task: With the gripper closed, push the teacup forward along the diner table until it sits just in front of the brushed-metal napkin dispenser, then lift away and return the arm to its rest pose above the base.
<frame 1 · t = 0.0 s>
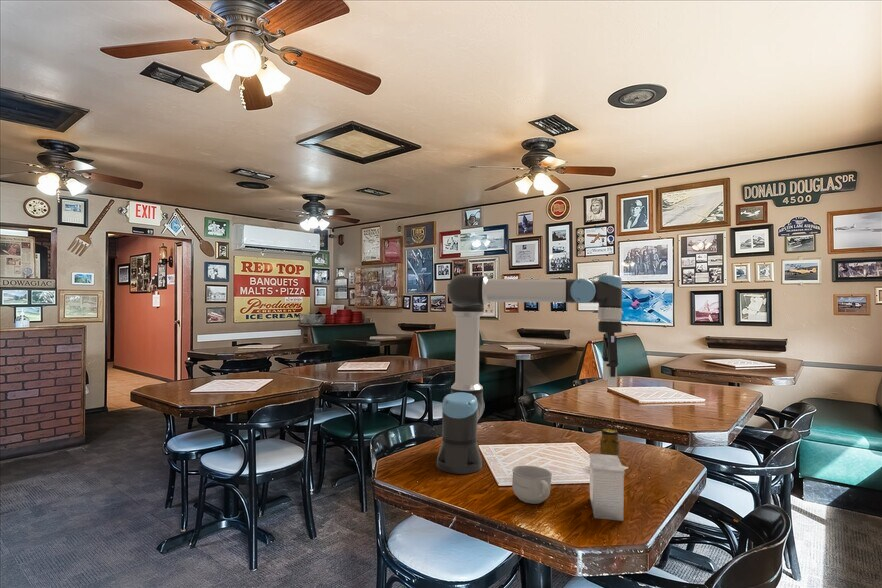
hand: (609, 383, 157), 28 cm above the table, fingers open, 13 cm apart
condiment: (611, 467, 156), on the table
napkin dispenser: (605, 509, 123), on the table
teacup: (533, 502, 127), on the table
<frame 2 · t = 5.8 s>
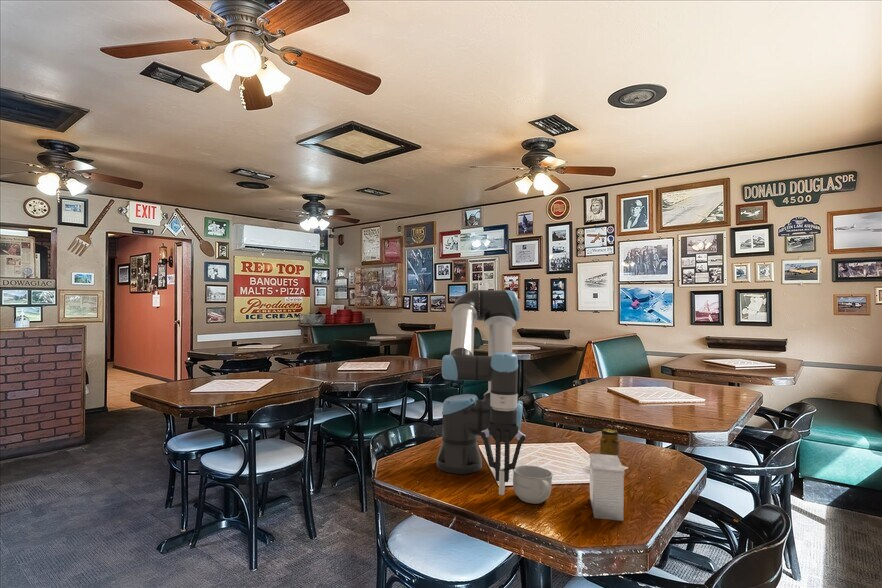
hand: (501, 492, 129), 2 cm above the table, fingers closed
teacup: (534, 502, 127), on the table, touching gripper
everything else where it was.
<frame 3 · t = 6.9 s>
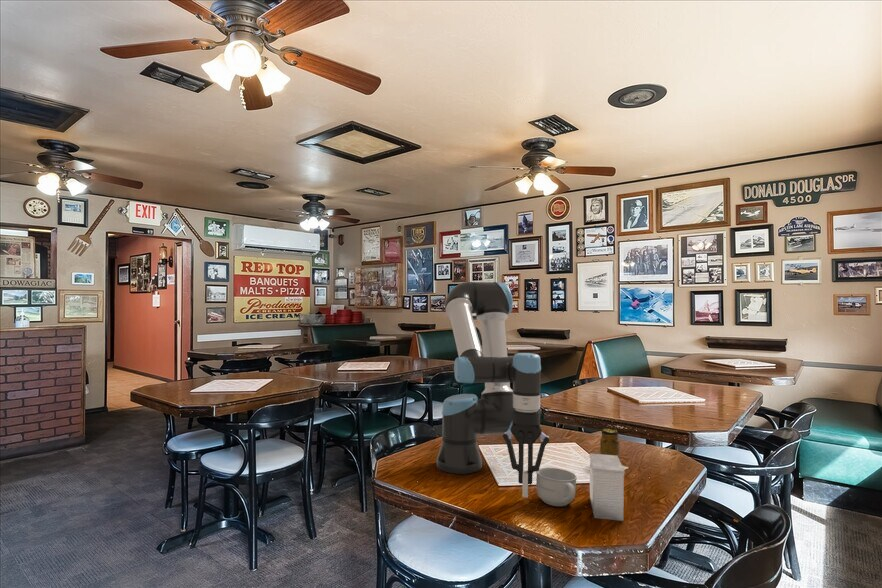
hand: (525, 495, 128), 2 cm above the table, fingers closed
teacup: (558, 505, 126), on the table, touching gripper
everything else where it was.
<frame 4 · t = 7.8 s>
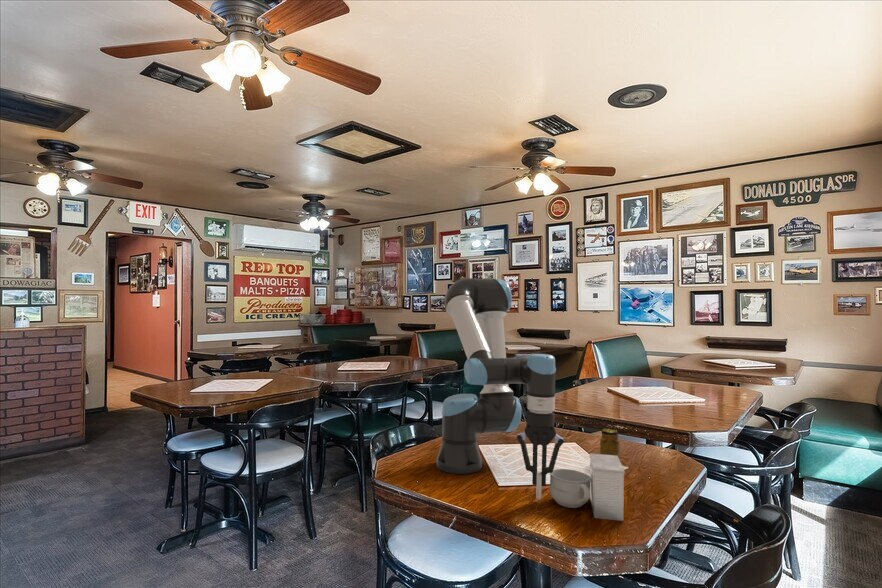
hand: (538, 496, 127), 2 cm above the table, fingers closed
teacup: (572, 506, 125), on the table, touching gripper, napkin dispenser
everything else where it was.
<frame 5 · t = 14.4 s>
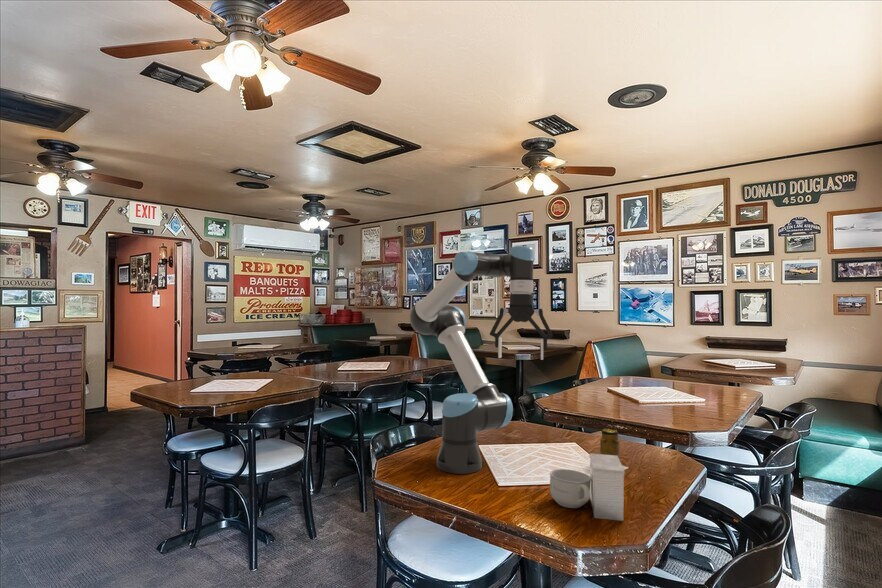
hand: (520, 358, 151), 37 cm above the table, fingers open, 13 cm apart
teacup: (572, 506, 125), on the table, touching napkin dispenser
everything else where it was.
at the end: teacup inside the target area (0.2 cm from its centre), on the table; teacup tilted 0°; teacup moved 10.3 cm from its start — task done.
